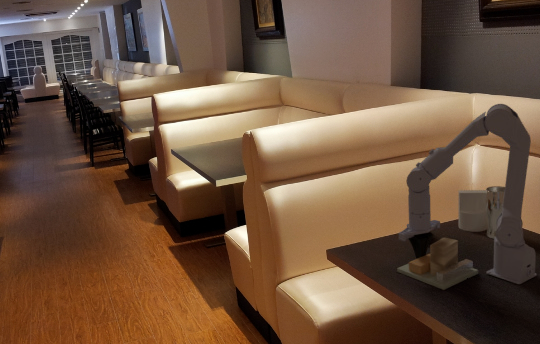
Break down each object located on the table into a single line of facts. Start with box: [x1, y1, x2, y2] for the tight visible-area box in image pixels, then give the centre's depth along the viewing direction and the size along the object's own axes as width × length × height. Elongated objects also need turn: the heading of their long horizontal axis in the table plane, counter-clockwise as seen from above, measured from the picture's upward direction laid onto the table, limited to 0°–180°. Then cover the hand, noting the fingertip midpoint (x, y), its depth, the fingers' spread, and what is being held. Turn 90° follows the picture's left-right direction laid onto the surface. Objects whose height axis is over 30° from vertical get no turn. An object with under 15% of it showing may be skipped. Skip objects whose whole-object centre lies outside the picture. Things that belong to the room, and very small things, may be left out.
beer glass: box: [485, 185, 505, 240], centre depth 169 cm, size 7×7×15 cm
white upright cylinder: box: [458, 189, 488, 233], centre depth 178 cm, size 9×9×12 cm
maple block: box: [429, 237, 459, 275], centre depth 145 cm, size 4×7×8 cm, turn 134°
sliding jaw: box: [408, 253, 431, 275], centre depth 150 cm, size 4×12×2 cm, turn 125°
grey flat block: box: [396, 258, 479, 291], centre depth 148 cm, size 16×14×4 cm
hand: (420, 258), depth 152 cm, fingers closed, pressing on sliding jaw
